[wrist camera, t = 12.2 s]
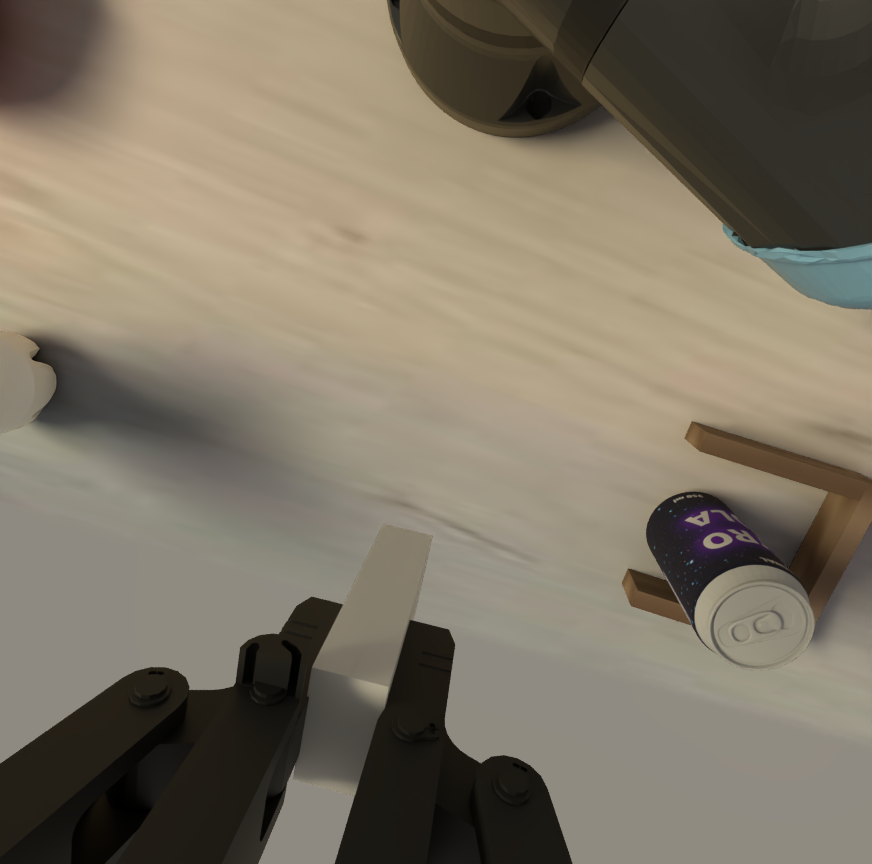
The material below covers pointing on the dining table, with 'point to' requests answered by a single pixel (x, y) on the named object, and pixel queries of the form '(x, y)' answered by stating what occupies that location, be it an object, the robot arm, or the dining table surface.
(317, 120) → the dining table surface
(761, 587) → the beverage can
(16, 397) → the water bottle
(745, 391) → the dining table surface
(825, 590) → the corral
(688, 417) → the dining table surface
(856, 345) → the dining table surface
